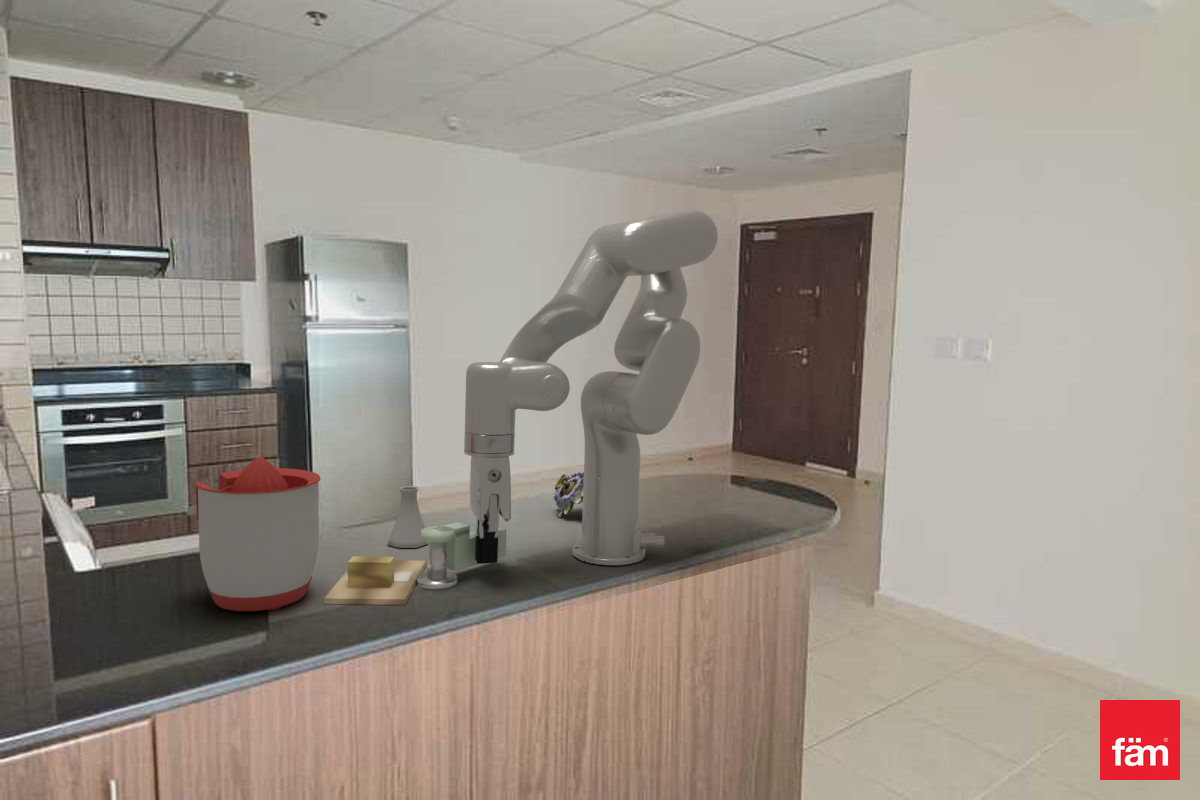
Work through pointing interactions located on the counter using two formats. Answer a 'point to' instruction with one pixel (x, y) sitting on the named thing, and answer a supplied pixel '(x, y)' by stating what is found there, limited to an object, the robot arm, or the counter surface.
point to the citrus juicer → (258, 535)
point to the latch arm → (460, 543)
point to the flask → (408, 521)
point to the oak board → (378, 592)
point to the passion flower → (568, 492)
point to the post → (437, 569)
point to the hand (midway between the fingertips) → (486, 561)
